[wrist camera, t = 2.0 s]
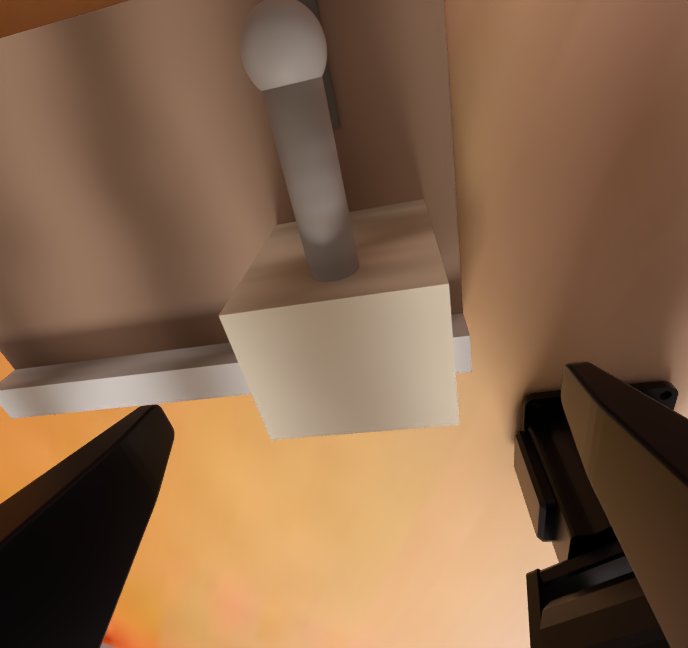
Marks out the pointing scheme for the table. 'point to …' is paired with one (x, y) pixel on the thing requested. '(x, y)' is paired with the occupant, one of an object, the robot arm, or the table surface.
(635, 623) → the robot arm
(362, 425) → the ball-top joystick
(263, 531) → the table surface
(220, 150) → the board
